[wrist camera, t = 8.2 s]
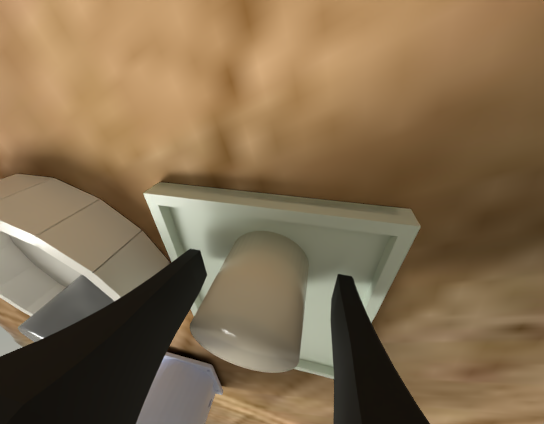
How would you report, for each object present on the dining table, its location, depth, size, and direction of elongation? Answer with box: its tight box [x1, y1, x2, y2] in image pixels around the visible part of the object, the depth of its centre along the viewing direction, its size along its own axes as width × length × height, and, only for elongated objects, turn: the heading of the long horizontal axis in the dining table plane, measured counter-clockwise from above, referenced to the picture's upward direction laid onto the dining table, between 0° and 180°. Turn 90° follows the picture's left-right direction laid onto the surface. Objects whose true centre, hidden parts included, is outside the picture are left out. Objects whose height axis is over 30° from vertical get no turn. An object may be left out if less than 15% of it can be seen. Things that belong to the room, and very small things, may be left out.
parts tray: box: [143, 182, 421, 379], centre depth 14 cm, size 16×12×1 cm
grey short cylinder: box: [18, 275, 114, 342], centre depth 17 cm, size 4×4×4 cm
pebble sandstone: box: [190, 231, 309, 373], centre depth 10 cm, size 4×4×4 cm
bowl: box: [0, 174, 170, 316], centre depth 16 cm, size 15×15×4 cm
